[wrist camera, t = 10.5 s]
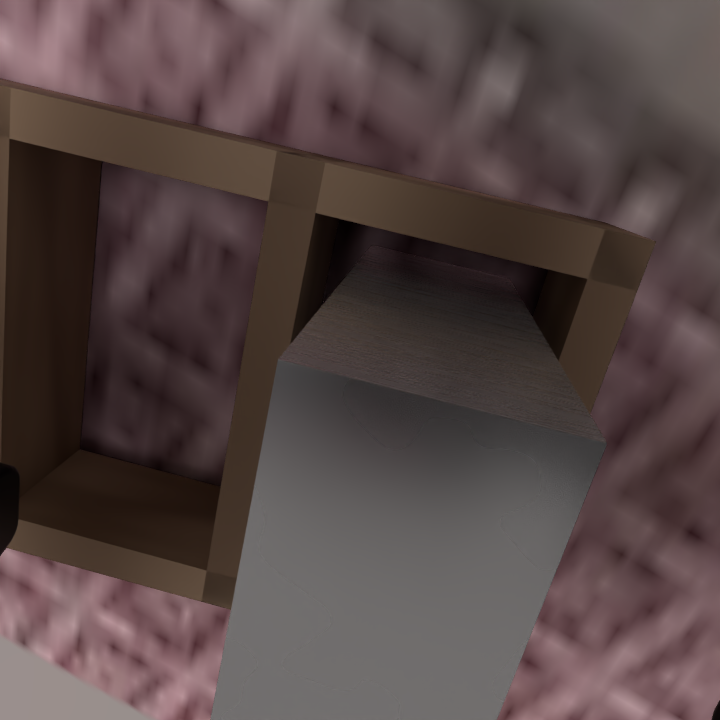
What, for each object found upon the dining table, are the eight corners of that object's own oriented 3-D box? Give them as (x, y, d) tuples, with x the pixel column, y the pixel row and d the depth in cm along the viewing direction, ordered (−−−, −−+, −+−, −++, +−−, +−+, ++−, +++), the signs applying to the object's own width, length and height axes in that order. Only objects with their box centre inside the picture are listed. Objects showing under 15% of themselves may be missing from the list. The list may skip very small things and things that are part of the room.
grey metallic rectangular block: (508, 278, 13) (607, 443, 5) (436, 515, 15) (431, 881, 7) (371, 244, 13) (277, 358, 5) (317, 484, 15) (193, 811, 7)
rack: (605, 222, 12) (655, 241, 9) (474, 596, 15) (482, 694, 13) (-166, 39, 13) (-333, 4, 10) (-142, 430, 16) (-265, 488, 13)
